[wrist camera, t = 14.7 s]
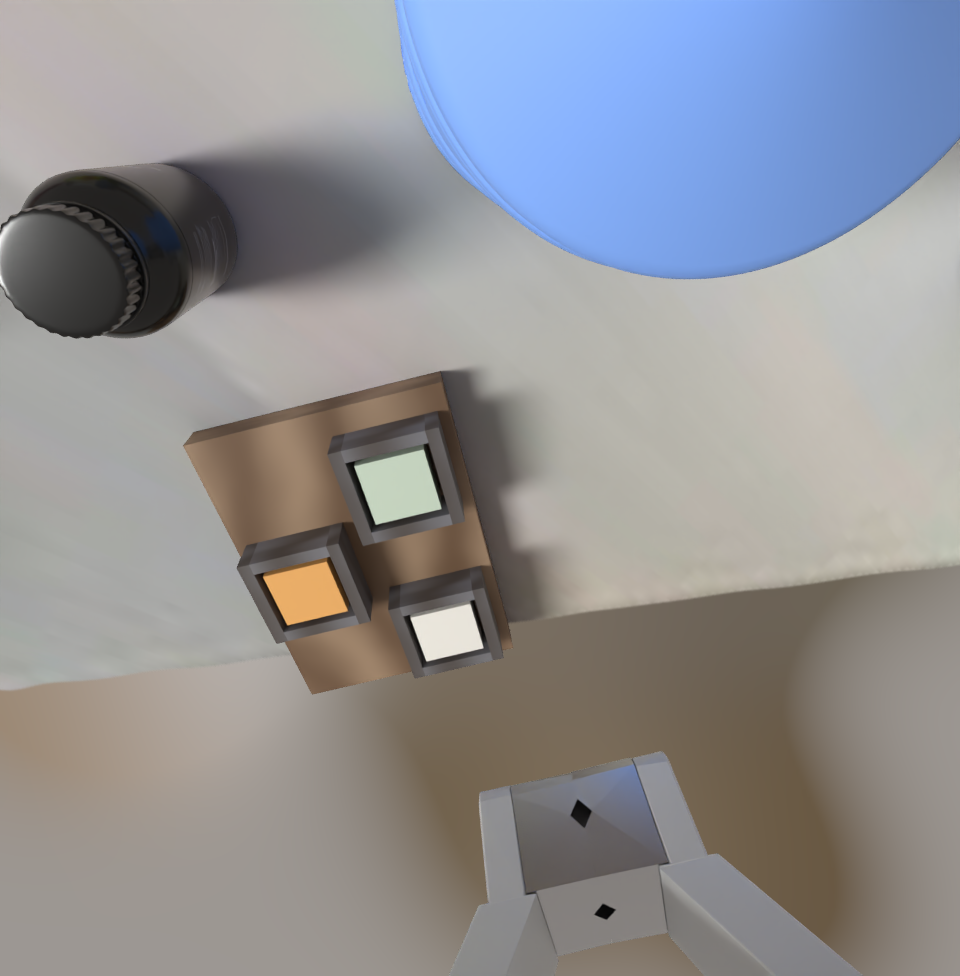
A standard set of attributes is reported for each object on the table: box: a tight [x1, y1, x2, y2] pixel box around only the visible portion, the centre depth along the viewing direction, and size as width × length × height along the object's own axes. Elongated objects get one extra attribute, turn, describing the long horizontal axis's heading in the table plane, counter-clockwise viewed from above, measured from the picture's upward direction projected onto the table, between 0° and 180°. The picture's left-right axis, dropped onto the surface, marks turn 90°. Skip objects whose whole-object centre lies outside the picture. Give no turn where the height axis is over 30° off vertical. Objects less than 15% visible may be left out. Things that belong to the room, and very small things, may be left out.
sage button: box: [354, 444, 442, 525], centre depth 38 cm, size 4×4×2 cm
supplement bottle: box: [0, 164, 237, 339], centre depth 28 cm, size 7×7×12 cm
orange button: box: [263, 557, 349, 625], centre depth 41 cm, size 4×4×2 cm
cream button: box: [410, 600, 484, 661], centre depth 44 cm, size 4×4×2 cm
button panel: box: [183, 371, 513, 694], centre depth 42 cm, size 16×22×4 cm
